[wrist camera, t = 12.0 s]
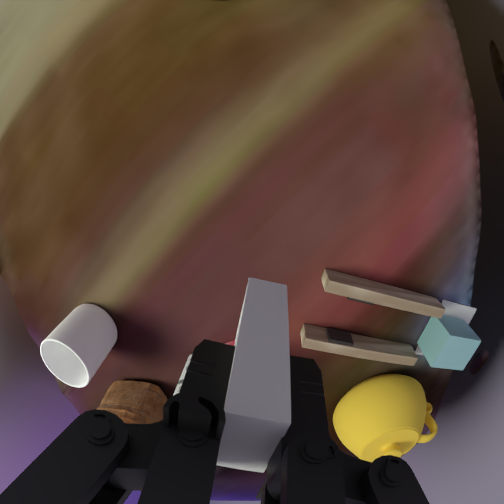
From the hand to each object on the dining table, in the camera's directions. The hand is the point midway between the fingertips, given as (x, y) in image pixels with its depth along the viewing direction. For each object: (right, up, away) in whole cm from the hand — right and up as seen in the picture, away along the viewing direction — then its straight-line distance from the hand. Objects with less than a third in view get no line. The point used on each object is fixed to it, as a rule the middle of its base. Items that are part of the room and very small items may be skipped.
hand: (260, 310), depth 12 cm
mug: (-27, -10, +32) cm, 43 cm away
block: (+29, -10, +28) cm, 42 cm away
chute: (+16, -6, +28) cm, 33 cm away
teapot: (+23, -25, +35) cm, 49 cm away
